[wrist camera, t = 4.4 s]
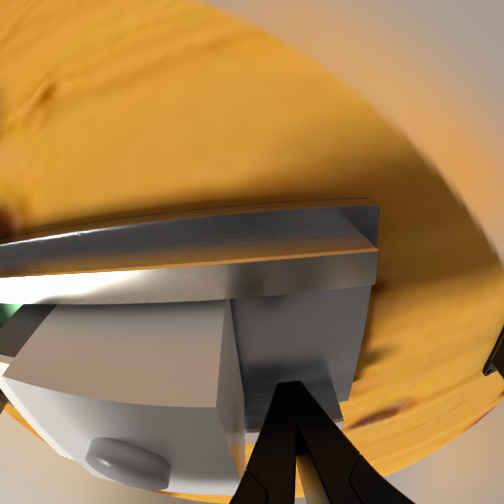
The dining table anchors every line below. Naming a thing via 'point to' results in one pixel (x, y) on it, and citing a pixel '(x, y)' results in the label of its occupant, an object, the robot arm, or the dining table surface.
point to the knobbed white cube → (140, 392)
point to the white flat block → (8, 346)
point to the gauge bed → (225, 283)
